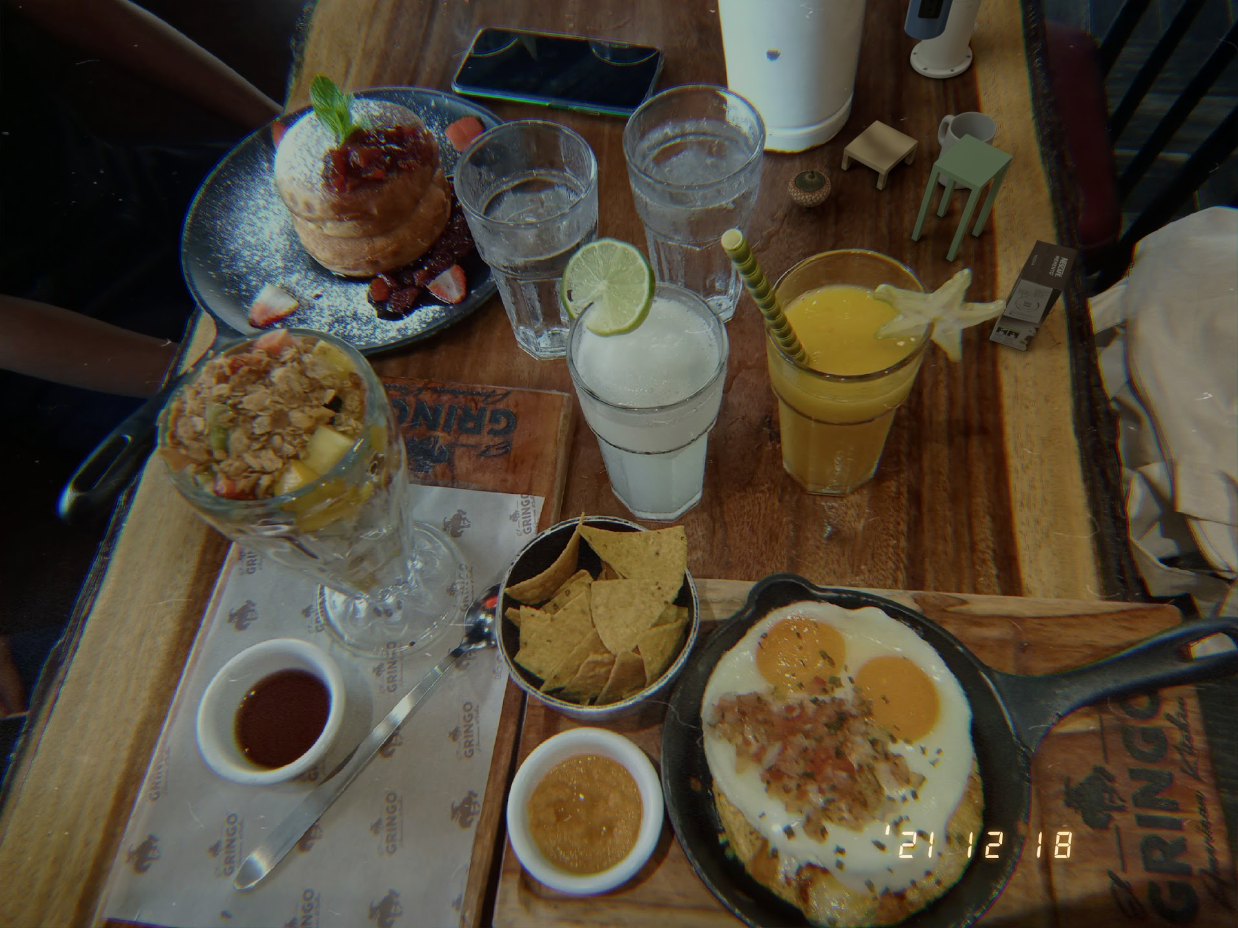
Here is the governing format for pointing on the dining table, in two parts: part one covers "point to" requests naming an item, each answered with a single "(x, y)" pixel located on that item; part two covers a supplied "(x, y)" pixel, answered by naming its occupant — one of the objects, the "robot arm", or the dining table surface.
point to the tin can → (926, 21)
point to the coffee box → (1034, 294)
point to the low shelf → (880, 150)
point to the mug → (964, 133)
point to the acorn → (809, 188)
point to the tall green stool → (965, 184)
